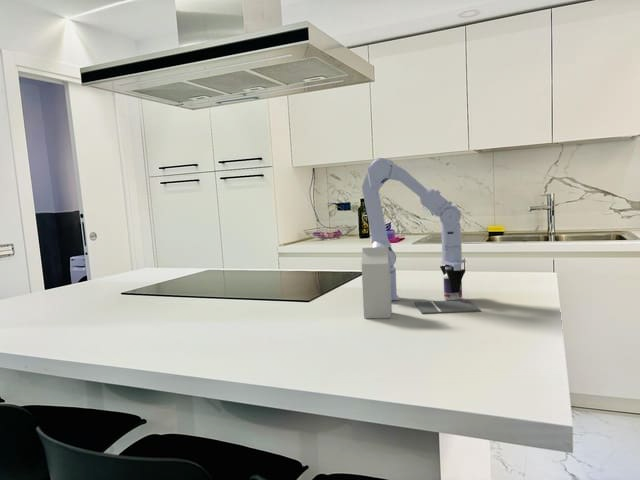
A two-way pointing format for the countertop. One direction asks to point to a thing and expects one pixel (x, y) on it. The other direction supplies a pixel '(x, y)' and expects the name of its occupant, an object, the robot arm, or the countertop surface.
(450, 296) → the pill bottle
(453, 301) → the mat
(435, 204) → the robot arm
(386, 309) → the milk carton
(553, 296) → the countertop surface
